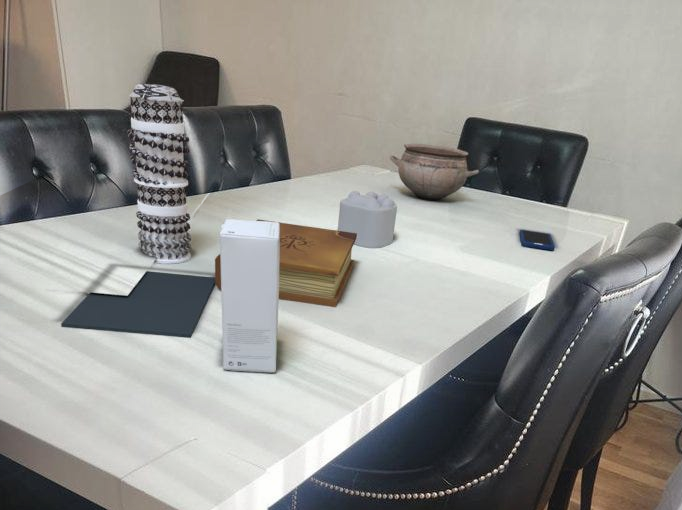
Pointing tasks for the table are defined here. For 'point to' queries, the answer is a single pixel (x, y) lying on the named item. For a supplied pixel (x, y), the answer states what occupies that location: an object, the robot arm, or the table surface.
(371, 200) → the lumpy-topped squat cylinder
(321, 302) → the diary
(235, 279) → the cosmetic box
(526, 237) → the cell phone
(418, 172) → the cooking pot
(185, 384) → the table surface
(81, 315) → the mat
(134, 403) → the table surface
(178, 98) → the decorative tower
